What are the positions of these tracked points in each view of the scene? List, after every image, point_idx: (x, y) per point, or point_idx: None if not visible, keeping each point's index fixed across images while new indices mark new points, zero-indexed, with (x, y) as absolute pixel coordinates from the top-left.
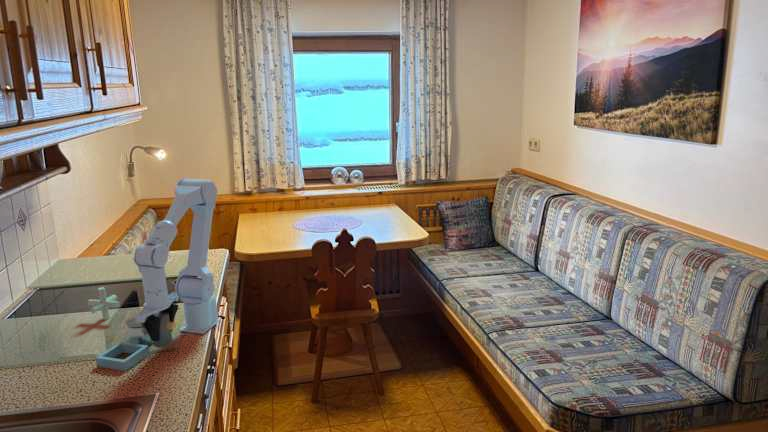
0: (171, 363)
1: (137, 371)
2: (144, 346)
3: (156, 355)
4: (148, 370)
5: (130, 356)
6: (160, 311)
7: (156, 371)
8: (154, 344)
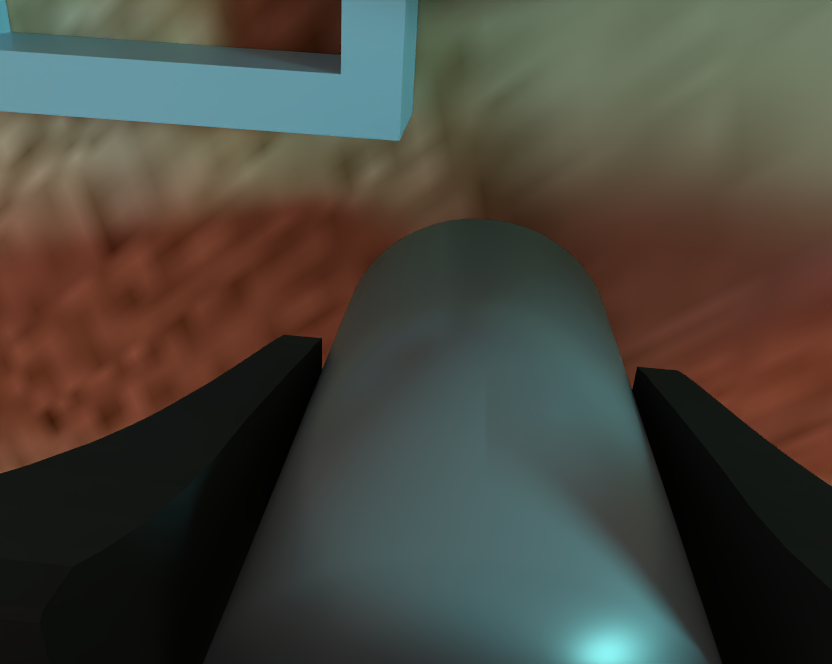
0: None
1: (31, 224)
2: (362, 90)
3: (401, 221)
4: (95, 326)
5: (39, 76)
6: (811, 655)
7: (113, 410)
8: (350, 301)
